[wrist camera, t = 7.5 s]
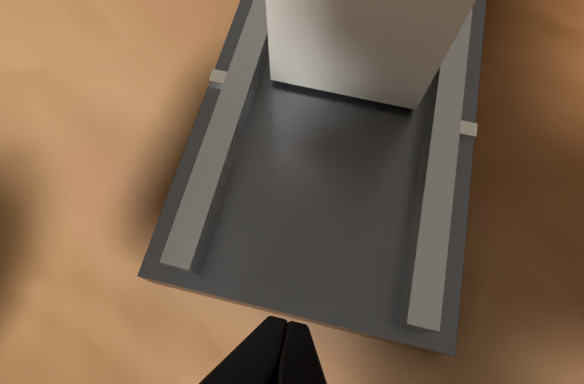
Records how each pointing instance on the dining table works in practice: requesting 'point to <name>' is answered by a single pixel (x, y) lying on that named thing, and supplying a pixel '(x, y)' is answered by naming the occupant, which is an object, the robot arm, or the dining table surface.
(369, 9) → the red-capped white pillar
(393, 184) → the press rail
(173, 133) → the dining table surface
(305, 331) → the robot arm
